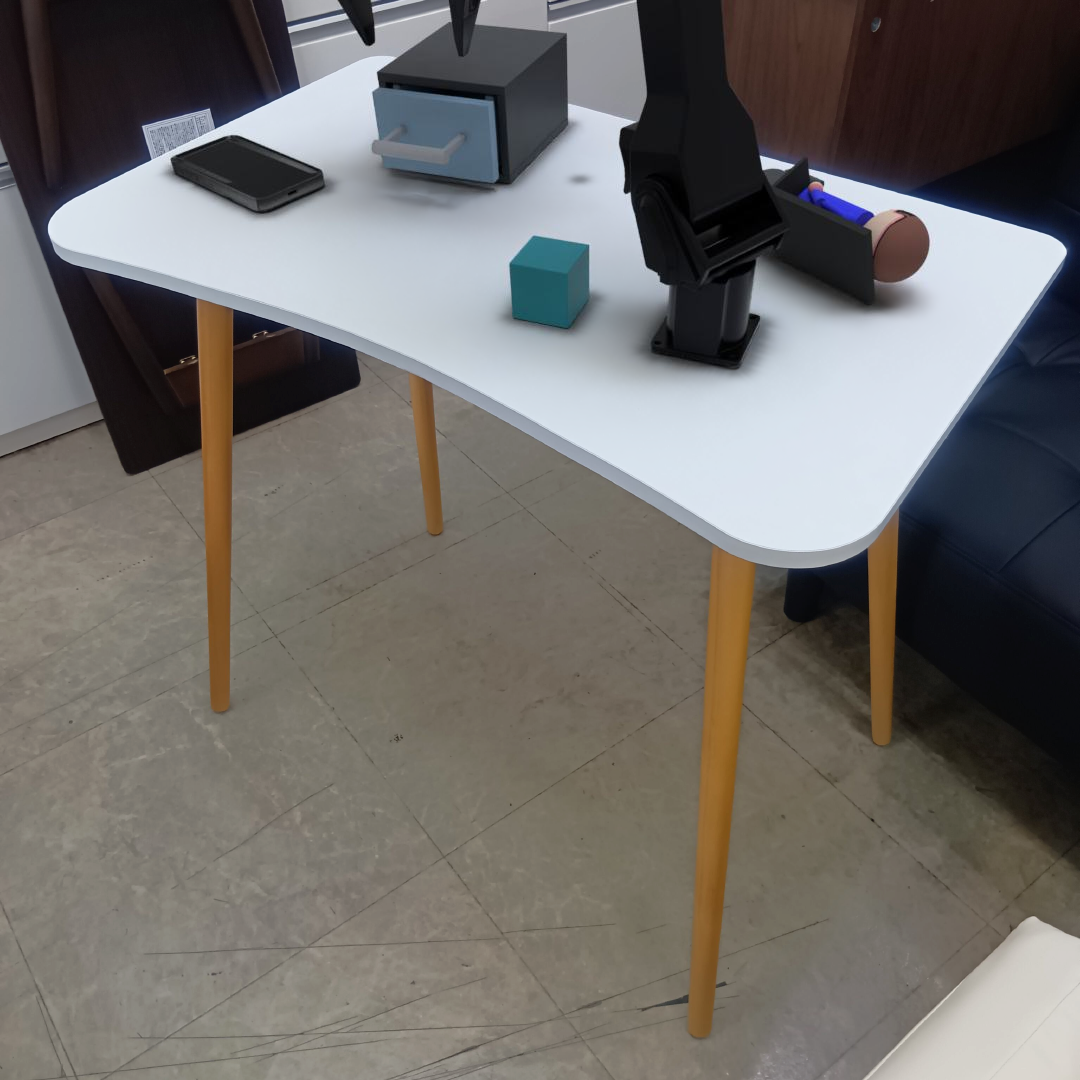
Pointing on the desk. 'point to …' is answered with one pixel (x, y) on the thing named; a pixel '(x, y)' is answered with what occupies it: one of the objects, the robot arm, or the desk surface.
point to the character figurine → (845, 236)
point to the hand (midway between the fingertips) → (416, 49)
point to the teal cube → (550, 281)
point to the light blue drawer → (438, 131)
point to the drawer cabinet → (498, 82)
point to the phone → (248, 172)
